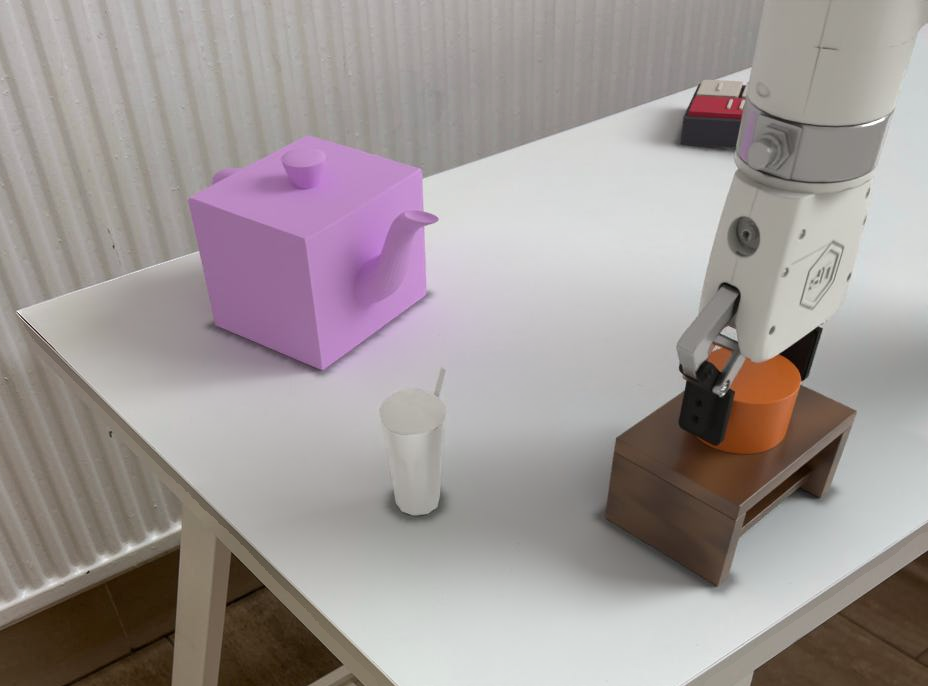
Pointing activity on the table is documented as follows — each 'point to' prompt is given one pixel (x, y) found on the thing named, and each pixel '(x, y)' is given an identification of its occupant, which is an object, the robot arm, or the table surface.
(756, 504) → the brown wooden step stool
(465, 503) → the table surface
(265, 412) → the table surface
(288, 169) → the teapot
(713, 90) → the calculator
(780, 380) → the orange cylinder puck
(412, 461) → the milkshake
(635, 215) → the table surface
